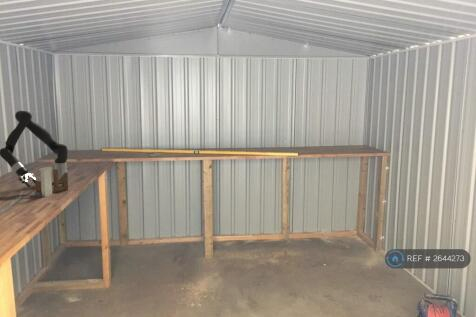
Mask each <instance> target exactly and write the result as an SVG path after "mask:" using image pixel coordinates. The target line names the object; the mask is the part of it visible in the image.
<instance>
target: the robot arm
mask: <svg viewBox="0 0 476 317" xmlns="http://www.w3.org/2000/svg"><path fill="white" fill-rule="evenodd" d="M32 116H33V115H32V113H31V112H30V111H28V110H18V111H17V112H15V114H14V117H15V120H16V121H17V122H18V124H17V125H16V126H15V128H14V129H12V131H11V132H10V134H9V135H8V137H7V139H6V140H5V143H4V144H5V147H2V148H1V149H0V157H1V158H2V159H3V160H4V161H5V162H6V163H7V165H9V167H10V168H11V169H12V170H13V171H14V173H15V174H16V175H17V176H18V177H17V179H18V180H19V182H20V183H21V184H24V185H26V186H27V187H28V188H30V187H31V185H32V184H30V183H29V181H32V182H33V183H34V184H35V181H37V176H36V175H35V174H34V173H33V172H30V173H29V170H28V169H27V168H26V167H25V166H24V165H23V163H22V162H21V161H20V160H19V159H18V158H17V157H16V156H15V155H14V151H15V147H16V145H17V143H18V141H19V139H20V137H21V136H22V134H23V132H24V130H25V129H26V128H27V129H28V130H29V131H30V132H31V133H32V135H34V136H35V137H36V138H38V139H39V140H40V141H41V142H42V143H44V144H45V145H46V146H47V147H48V148H49V149H50V150H51V152H52V153H54V154H55V155H57V158H55V159H54V169H58V180H59V179H60V178H61V177H62V176H63V174H64V173H65V172H66V173H68V169H67V168H68V166H67V164H68V163H67V160H68V147H67V145H66V144H63V143H60V142H59V143H58V142H57V141H56V140H54V139H53V137H52V135H51V133H50V132H49V131H48V130H47V129H46V128H45V127H44V126H42V124H41V125H40V124H39V123H37V122H35V121H34V120H33V119H32ZM59 184H62V182H60V183H59Z"/></svg>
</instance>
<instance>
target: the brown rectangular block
mask: <svg viewBox="0 0 476 317" xmlns="http://www.w3.org/2000/svg"><path fill="white" fill-rule="evenodd" d="M34 185H35V192H42V190H41V179H38V180H36V181H35V183H34Z"/></svg>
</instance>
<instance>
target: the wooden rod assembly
mask: <svg viewBox="0 0 476 317" xmlns="http://www.w3.org/2000/svg"><path fill="white" fill-rule="evenodd" d="M52 176H53V177H52V178H53V186H52V192H54V193H58V192H65V191H68V190H69V179H68V178H69V175H68V172H67V173H66V172H65V173H64V174H63V176H62V177H61V178H60V179H59V180H58V169H55V168H52ZM60 182H62V183H60ZM60 184H61V185H60Z"/></svg>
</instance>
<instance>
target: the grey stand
mask: <svg viewBox="0 0 476 317" xmlns="http://www.w3.org/2000/svg"><path fill="white" fill-rule="evenodd" d="M52 170H53V167H52V166H46V167H45V166H44V167H42V168H39V169H38V171H40V180H41V190H42V192H36V191H34V192H33V193H31V194H29V197H38V198H46V197H49V196H51V195H53V194H54V193H53V184H52V183H53V182H52V178H53V177H52Z"/></svg>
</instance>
